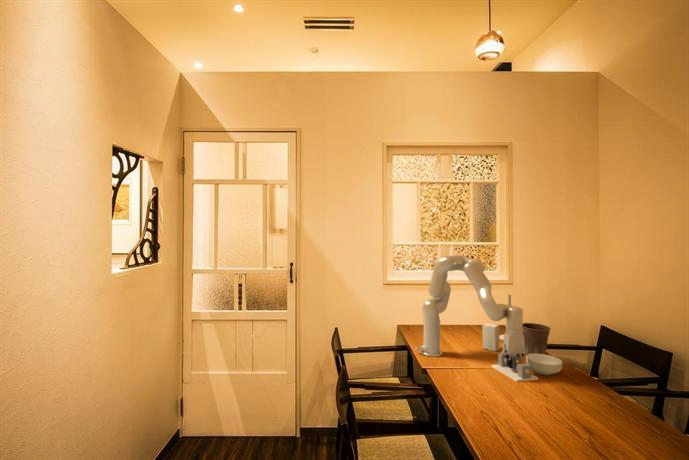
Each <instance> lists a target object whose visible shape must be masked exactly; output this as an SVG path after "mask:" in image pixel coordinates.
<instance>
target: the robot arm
mask: <svg viewBox="0 0 689 460" xmlns="http://www.w3.org/2000/svg"><path fill="white" fill-rule="evenodd" d="M452 271H453V272H454V271H462V272H464V274H465V276H466V277H467V279H468V280H469V281H470V284H471V285H472V287H473V288H474V290H475V292H476V294H477V297H478V300H479V301H478V302H479V303H480V306H481V307H482V309H483V310H484V312H485V314H486V315H487V317H488V318H489V319H490V320H492V321H494V322H499V321H501V320H504V319H506V323H507V328H506V327H505V333H504V334H505V335H504V334H503V335H504V339H503V341H502V350H501V352H500V353H501V354H502V355H503V356H504V357H505V358H506V359H507V367H509V368H512V360H511V357H512V354H515V355H517V356H519V357H521V361H522V359H523V357H524V356H525V355H527V354H526V353H527V351H526V350H525V342H524V335H523V331H524V329H523V323H524V310H523V309H524V308H522V307H520V306H516V305H515V306H513V305H512V306H508V305H506V304H505V303H497V302H496V301H495V299H494V297H493V293H492V283H491V282H490V280H489V279H488V276H486V274H485V265H484V264H483V262H481V261H480V260H477V259H474V258H470V257H468V256H467V257H466V256H463V255H460V254H455V255H448V256H442V257H440V258H438V259H437V260H436V261H435V263H434V266H433V270H432V275H431V278H430V283H429V286H428V294H429V296H430V298H429V299H427V300H426V301H424V303H423V304H422V310H421V311H422V316H423V317H422V318H423V333H422V334H423V340H422V342H423V344H421V346H415V349H414V350H415V351H419V352H420V353H421V354H422V355H424V356H427V357H433V358H434V357H441V356H442V355H443V351H442V350H441V320H440V314H442V313H443V312H445V311H446V310H447V308H448V305H449V304H448V303H449V301H450V296H451V291H452V290H451V289H452V288H451V285H450V283H449V282H448V281H447V280H448V275H449V274H448V272H452ZM505 353H506V354H505Z"/></svg>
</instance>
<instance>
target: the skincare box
mask: <svg viewBox="0 0 689 460" xmlns="http://www.w3.org/2000/svg"><path fill="white" fill-rule="evenodd" d="M499 336H500V325H499V324H494V323H493V324H492V323H487V322H486V323H484V324H482V349H483V348H484V349H483V350H487V349H488V350H489V351H491V352H498V351H500V346H501V345H500V344H501V343H500V340H499Z"/></svg>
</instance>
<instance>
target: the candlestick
mask: <svg viewBox="0 0 689 460" xmlns="http://www.w3.org/2000/svg"><path fill="white" fill-rule="evenodd" d="M511 299H512V294H509V293H508V294H507V304H505V305H508V306H513V304H511V303H512V300H511ZM506 328H507V322H506V325H505V329H506ZM504 335H505V333H504V334H499V339H501V340H500V341H502V340H503V339H504Z"/></svg>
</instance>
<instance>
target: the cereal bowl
mask: <svg viewBox="0 0 689 460" xmlns="http://www.w3.org/2000/svg"><path fill="white" fill-rule="evenodd" d="M525 355H526V356H525V364H529V365H531V371H532V370H533V371H534V372H535V373H537V374H539V375H542V376H550V375H554V374H557V373H559V372H560V371H561V370H562V368H563V360H561V359H560V358H558V357H555V356H552V355H549V354H546V355H544V354H525Z"/></svg>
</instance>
